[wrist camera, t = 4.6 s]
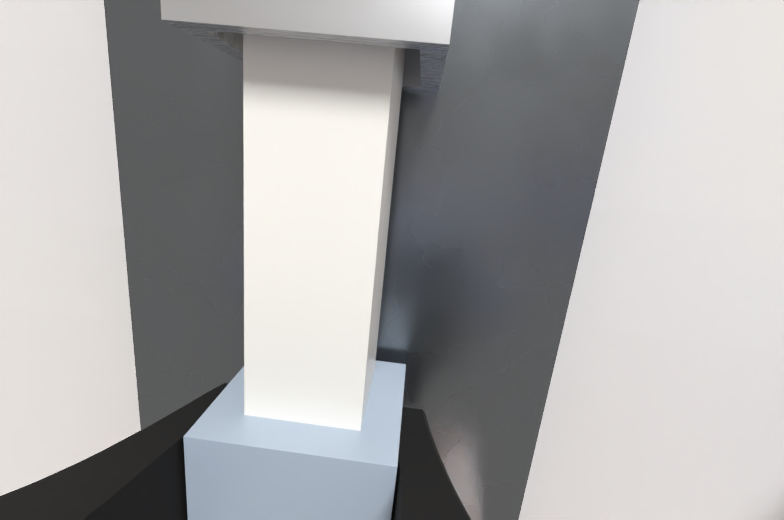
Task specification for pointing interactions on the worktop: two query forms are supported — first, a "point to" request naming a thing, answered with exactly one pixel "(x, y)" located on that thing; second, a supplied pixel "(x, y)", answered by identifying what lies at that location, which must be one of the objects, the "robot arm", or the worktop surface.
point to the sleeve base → (408, 201)
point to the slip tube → (309, 295)
